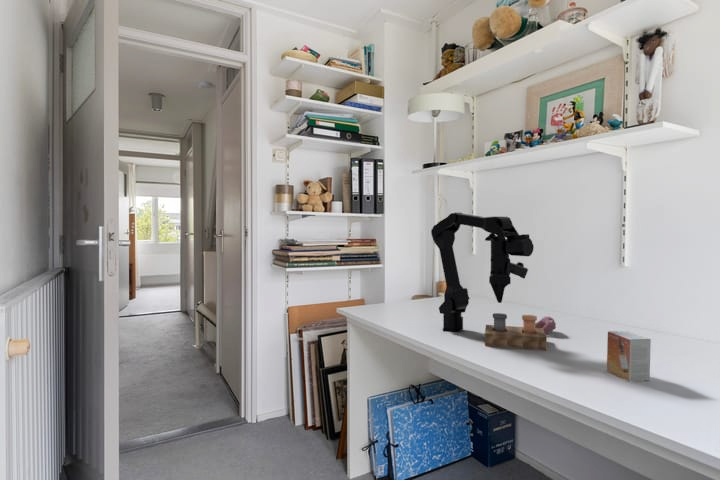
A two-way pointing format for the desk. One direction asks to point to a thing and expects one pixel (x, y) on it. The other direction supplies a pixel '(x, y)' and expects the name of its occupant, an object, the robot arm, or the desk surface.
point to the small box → (628, 355)
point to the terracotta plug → (529, 323)
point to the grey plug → (499, 322)
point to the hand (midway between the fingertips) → (499, 302)
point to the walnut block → (515, 338)
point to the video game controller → (546, 324)
